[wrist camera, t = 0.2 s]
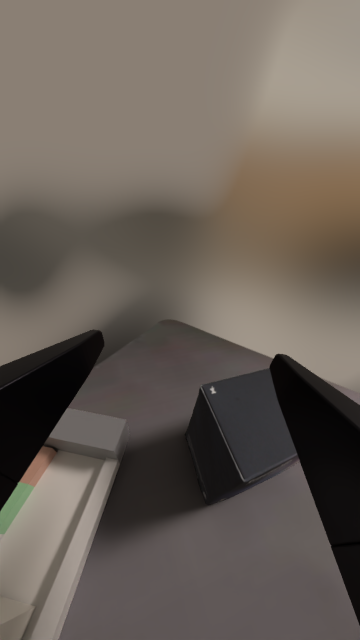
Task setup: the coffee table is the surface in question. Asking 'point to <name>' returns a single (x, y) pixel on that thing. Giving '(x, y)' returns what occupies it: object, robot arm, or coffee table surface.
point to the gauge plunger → (14, 618)
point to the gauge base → (58, 516)
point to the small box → (238, 435)
